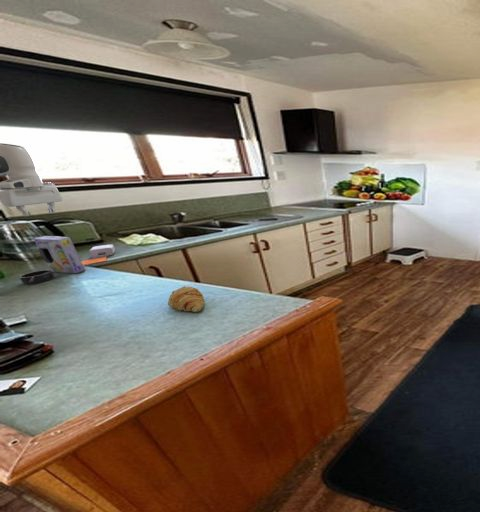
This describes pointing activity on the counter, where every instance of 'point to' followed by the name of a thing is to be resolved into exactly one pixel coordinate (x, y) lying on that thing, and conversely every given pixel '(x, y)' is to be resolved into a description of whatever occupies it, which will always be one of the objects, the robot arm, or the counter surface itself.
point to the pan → (37, 276)
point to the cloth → (94, 261)
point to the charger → (102, 251)
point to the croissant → (186, 299)
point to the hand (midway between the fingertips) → (40, 214)
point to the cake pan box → (59, 254)
